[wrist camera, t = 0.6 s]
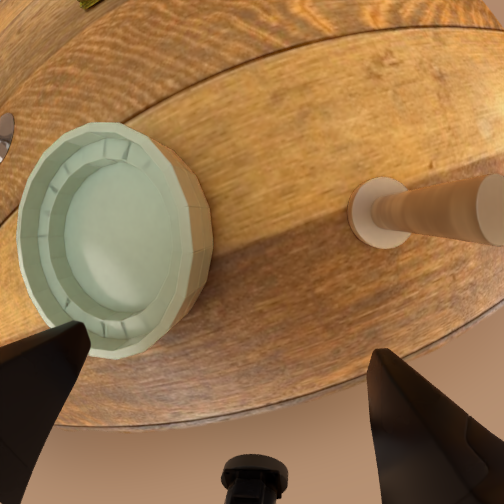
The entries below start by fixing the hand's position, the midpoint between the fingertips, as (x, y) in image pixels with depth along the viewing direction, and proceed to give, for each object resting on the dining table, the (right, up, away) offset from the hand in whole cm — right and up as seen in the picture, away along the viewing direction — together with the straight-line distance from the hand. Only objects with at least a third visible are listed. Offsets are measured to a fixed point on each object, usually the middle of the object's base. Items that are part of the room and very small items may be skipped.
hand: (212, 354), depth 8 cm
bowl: (-10, +4, +14) cm, 17 cm away
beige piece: (+10, +6, +11) cm, 16 cm away
